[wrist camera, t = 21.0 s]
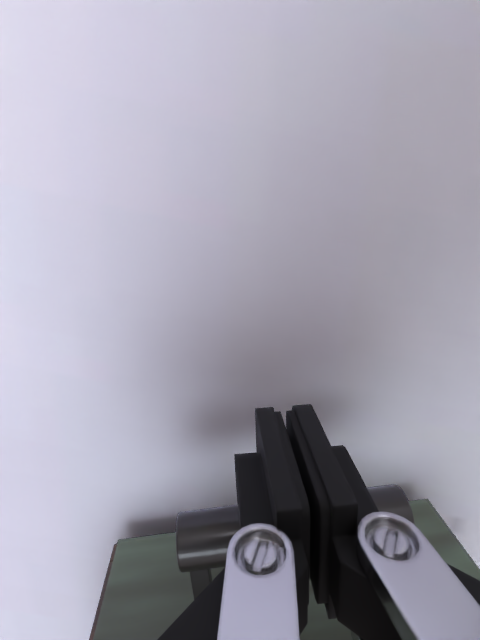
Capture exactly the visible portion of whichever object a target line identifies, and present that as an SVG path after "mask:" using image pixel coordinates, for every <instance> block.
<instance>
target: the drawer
mask: <svg viewBox="0 0 480 640" xmlns="http://www.w3.org/2000/svg"><path fill="white" fill-rule="evenodd" d="M367 489H368V491H369V493H370V495H371V497H372V499H373V501H374V503H375V505H376V506H377V508H378V510H379V512H389V513H394V514H397V515H399V516H402V517H404V518H406V519H407V520H409V521H410V522H412V523H413V524H414V525H415V526H416V527H417V528H418V529H419V530H420V531H421V532H422V533H423V535H424V536H425V537H426V538H427V540H428V541H429V542H430V544H431V545H432V546H433V547H434V549H435V550H436V551H437V552H438V554H439V555H440V556H441V557H442V559H443V560H444V561H445V562H446V563H447V564H449V565H451V566H453V567H455V568H457V569H459V570H460V571H462V572H464V573H466V574H468V575H470V576H472V577H474V578H476V579H477V580H479V581H480V569H479V568H478V567H477V565H476V564H475V562H474V561H473V560H472V558H471V557H470V556H469V554H468V553H467V552H466V550H465V549H464V548H463V546H462V545H461V543H460V542H459V541H458V539H457V538H456V537H455V535H454V534H453V533H452V531H451V530H450V529H449V527H448V526H447V525H446V523H445V522H444V520H443V519H442V518H441V516H440V515H439V514H438V512H437V511H436V510H435V508H434V507H433V506H432V504H431V503H430V502H429V500H428V499H421V500H414V501H408V499H407V497H406V495H405V493H404V492H403V490H402V489H401V488H400V487H399V486H397V485H394V484H392V485H384V486H377V487H369V488H367ZM239 530H240V525H239V513H238V505H231V506H223V507H215V508H207V509H200V510H192V511H184V512H180V513H178V516H177V520H176V532H173V533H165V534H158V535H150V536H143V537H135V538H128V539H120V540H118V543H117V547H116V551H115V555H114V558H113V562H112V566H111V570H110V574H109V578H108V582H107V586H106V590H105V594H104V598H103V602H102V606H101V610H100V614H99V618H98V621H97V625H96V629H95V633H94V637H93V640H157V639H158V638H159V637H160V636H161V635H162V634H163V633H164V632H165V631H166V630H167V629H168V628H169V627H170V625H171V624H172V623H173V622H174V621H175V620H176V619H177V618H178V617H179V616H180V615H181V614H182V613H183V612H184V611H185V609H186V608H187V607H188V606H189V605H190V604H191V603H192V602H193V601H194V600H195V599H196V598H197V597H198V596H199V594H200V593H201V592H202V591H203V590H204V589H205V588H206V587H207V586H208V585H209V584H210V583H211V582H212V581H213V580H214V578H215V577H216V576H217V575H218V574H219V573H220V572H221V571H222V570H223V569H224V568H225V567H226V558H227V549H228V546H229V543H230V540H231V539H232V537H233V536H234V534H235V533H236V532H238V531H239ZM299 637H300V640H353V639H352V636H351V630H350V629H348V628H347V627H346V626H344V625H343V624H341V623H340V622H339V621H338V620H337V618H336V619H328V616H327V612H326V608H325V605H324V603H323V604H317V602H316V599H315V596H314V592H313V588H312V584H311V580H310V576H309V605H308V623H307V625H306V627H305V628H304V630H303V631H302V633H301V635H300V636H299Z"/></svg>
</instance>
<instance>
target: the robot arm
mask: <svg viewBox="0 0 480 640" xmlns="http://www.w3.org/2000/svg"><path fill="white" fill-rule="evenodd" d="M255 421H256V447H257V453H245V454H235V472H236V487H237V501H238V513H239V525H240V530H239V531H238V532H236V533H235V534H234V536H233V537H232V539H231V540H230V543H229V546H228V549H227V558H226V567H225V568H224V569H223V570H222V571H221V572H220V573H219V574H218V575H217V576H216V577H215V578H214V580H213V581H212V582H211V583H210V584H209V585H208V586H207V587H206V588H205V589H204V590H203V591H202V592H201V593H200V594H199V596H198V597H197V598H196V599H195V600H194V601H193V602H192V603H191V604H190V605H189V606H188V607H187V608H186V609H185V611H184V612H183V613H182V614H181V615H180V616H179V617H178V618H177V619H176V620H175V621H174V622H173V623H172V624H171V625H170V627H169V628H168V629H167V630H166V631H165V632H164V633H163V634H162V635H161V636H160V637H159V638H158V639H157V640H300V637H299V636H300V635H301V633H302V631H303V630H304V628H305V627H306V625H307V623H308V605H309V576H310V580H311V584H312V588H313V592H314V596H315V599H316V602H317V604H323V603H324V605H325V608H326V612H327V616H328V619H336V618H337V620H338V621H339V622H340V623H341V624H343V625H344V626H346V627H347V628H348V629H350V630H351V636H352V639H353V640H480V581H479V580H477V579H476V578H474V577H472V576H470V575H468V574H466V573H464V572H462V571H460V570H459V569H457V568H455V567H453V566H451V565H449V564H447V563H446V562H445V561H444V560H443V559H442V557H441V556H440V555H439V554H438V552H437V551H436V550H435V549H434V547H433V546H432V545H431V544H430V542H429V541H428V540H427V538H426V537H425V536H424V535H423V533H422V532H421V531H420V530H419V529H418V528H417V527H416V526H415V525H414V524H413V523H412V522H410V521H409V520H407V519H406V518H404V517H402V516H399V515H397V514H394V513H389V512H379V510H378V508H377V506H376V505H375V503H374V501H373V499H372V497H371V495H370V493H369V491H368V489H367V487H366V486H365V484H364V482H363V480H362V478H361V476H360V474H359V472H358V470H357V468H356V467H355V465H354V463H353V461H352V459H351V457H350V455H349V453H348V451H347V450H346V448H345V447H344V446H343V445H340V446H331V445H330V443H329V441H328V439H327V437H326V434H325V432H324V430H323V428H322V426H321V424H320V422H319V420H318V418H317V415H316V413H315V411H314V409H313V407H312V405H311V404H307V405H294V406H293V407H292V411H287V412H286V427H285V424H284V421H283V418H282V414H281V412H280V411H277V412H274V408H273V407H267V408H255Z"/></svg>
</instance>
